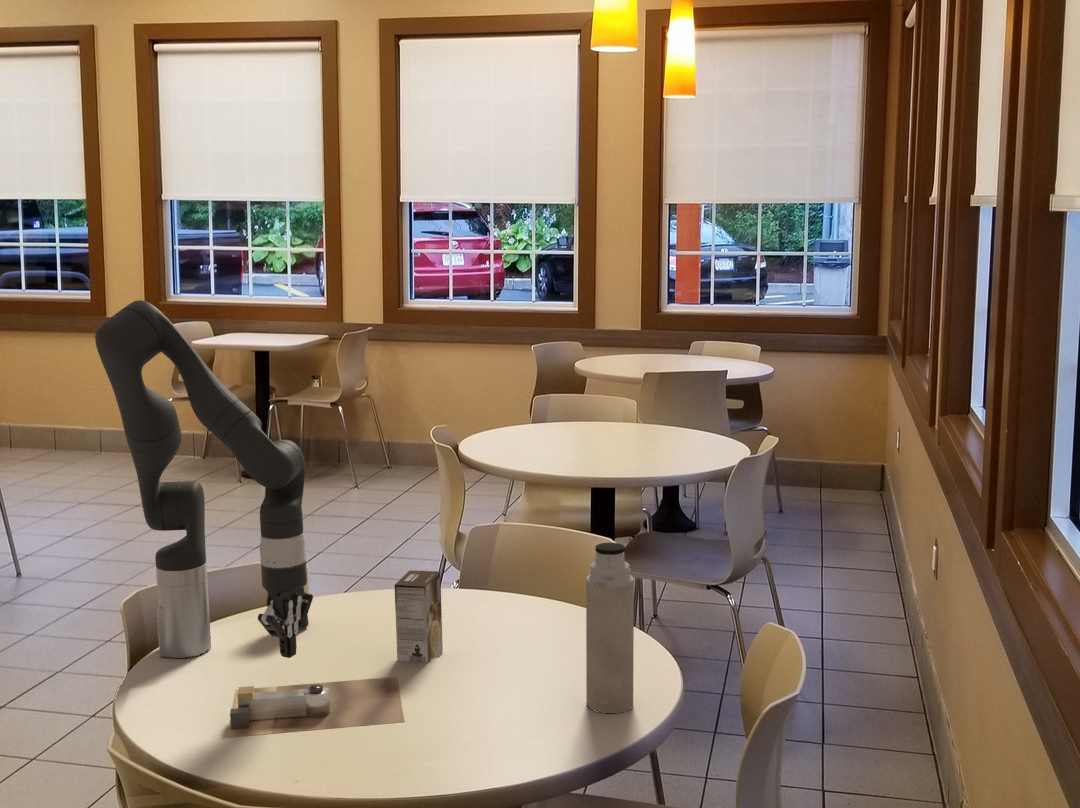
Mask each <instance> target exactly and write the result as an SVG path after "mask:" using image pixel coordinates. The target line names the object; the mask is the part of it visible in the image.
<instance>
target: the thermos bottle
mask: <svg viewBox="0 0 1080 808" xmlns="http://www.w3.org/2000/svg"><path fill="white" fill-rule="evenodd" d="M625 550H626V547H625V545H624V544H621V543H620V542H619V543H618V542H602V543H598V544H597V545H595V552H596V553H595V559H594V560H595V561H593V562H591V563H590V569H589V574H588V575H587V576H586V578H585V580H586V582H585V585H586V586H585V589H586V595H585V596H586V598H585V600H586V601H585V602H586V606H585V607H586V609H585V610H586V611H585V612H586V614H585V616H586V617H585V619H586V620H585V621H586V623H585V624H586V625H585V626H586V629H585V630H586V631H585V632H586V633H585V636H586V639H585V640H586V642H585V643H586V645H585V646H586V650H585V651H586V658H585V659H586V660H585V661H586V681H585V682H586V706H587V705H588V706H589V707H590V708H591V709H593V710H595V711H594V712H596V711H597V712H596V713H599V712H601V713H600V714H606V713H616V714H621V713H620V712H622V713H625V712H627V710H628V711H629V710H631V709H632V708H633V706H634V644H635V643H634V637H635V636H634V635H635V633H634V624H635V623H634V621H635V619H634V617H635V616H634V615H635V614H634V608H635V603H634V599H635V597H634V596H635V594H634V593H635V586H634V584H635V581H634V577H633V576H632V575H631V574H630V572H631V570H632V569H631V568H630V567H631V566H630V564H629V563H628V562H627V561H625V553H624V552H625ZM588 706H587V707H588ZM589 707H588V708H589ZM631 707H632V708H631ZM590 708H589V709H590ZM630 708H631V709H630ZM591 709H590V710H591ZM593 710H592V711H593Z"/></svg>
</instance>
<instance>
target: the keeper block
mask: <svg viewBox="0 0 1080 808" xmlns="http://www.w3.org/2000/svg"><path fill="white" fill-rule="evenodd" d="M229 717H230V718H229V719H230V720H229V723H230V722H231V730H236V729H248V728H249V724H250V723H249V707H247V708H235V709H232V708H230V711H229Z"/></svg>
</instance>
